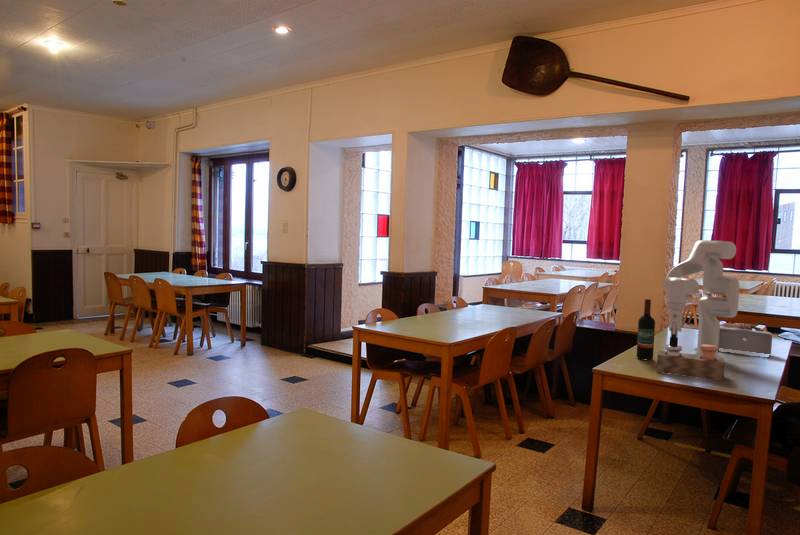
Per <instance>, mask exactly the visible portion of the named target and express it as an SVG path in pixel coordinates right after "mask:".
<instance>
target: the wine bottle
mask: <svg viewBox="0 0 800 535" xmlns="http://www.w3.org/2000/svg"><path fill="white" fill-rule="evenodd" d="M651 304H652V299H646V298H645V299H644V308H643V310H644V311H643V315H642V316H640V317H639V319H638V321H637V322H638V324H637V340H636V343H637V344H636V357H638V358H640V359H647V360H646V361H649V360H650V361H652V360H651V359H653V360H654V346H655V329H656V321H655V318H653V317H652V315H651V309H652V308H651V306H652V305H651ZM640 359H639V360H640Z"/></svg>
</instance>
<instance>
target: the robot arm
mask: <svg viewBox="0 0 800 535" xmlns="http://www.w3.org/2000/svg"><path fill="white" fill-rule="evenodd" d="M736 253H737V246H736V244H735V243H734V242H733V241H724V240H709V239H708V240H707V239H706V240H703V239H702V240H697V241H696V242H695V243H693V245H692V248H691V249H690V251H689V253H688V255H687V257H686V260H685V261H683V262H680V263H678V264H677V265H675V266H674V267H672V268H670V270H669V271H668V273H667V275H666V277H665V279H664V281H663V282H664V283H663V288H664V291H665V292H666V293H667V294H666V295H667V297H666V310H669V312H668V330H669V331H670V336H669V344H670V346H674V347H677V345H679V344H678V342H679V341H678V340H679V337H678V335H679V334H678V333H681V332H682V330H683V328H682V327H683V311H686V301H687V300H686V299H687V295H688V296H690V295H691V296H692V295H695V294H697V293H698V291H699V287H700V285H699V282H698V281H697V280H696V279H695V278H694V279H693V278H687V277H685V276H688V275H689V276H690V275H695V274H697V273H701V272H702V271H703V273H702V274H703V275H702V290H703V292H704V293H706V294H710V295H711V294H712V295H719V296H725V297H717V296H710V295H709V296H702V297H699V299H698V301H697V311H698V330H697V343H696V344H697V346H696V347H694V348H693V349H694V351H696V353H694V354H695V355H702V349H700V345H702V344H707V345H714V346H718V351H719V336H720V327H721V324H720V321H719V319H718V318H717V317H720V318H727V319H728V318H729V319H731V318H735V317H736V316H737V314H738V310H739V298H740V282H739V279H738V278H736V277H734V276H728V275H727V276H726V275H724V264H723V263H722V261H721V260H720V259H722V260H732V259H733V258H734V257H735V256H736ZM718 351H716V355H715V357H721V358H723V357H722V356H720V355H719V352H718Z"/></svg>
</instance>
